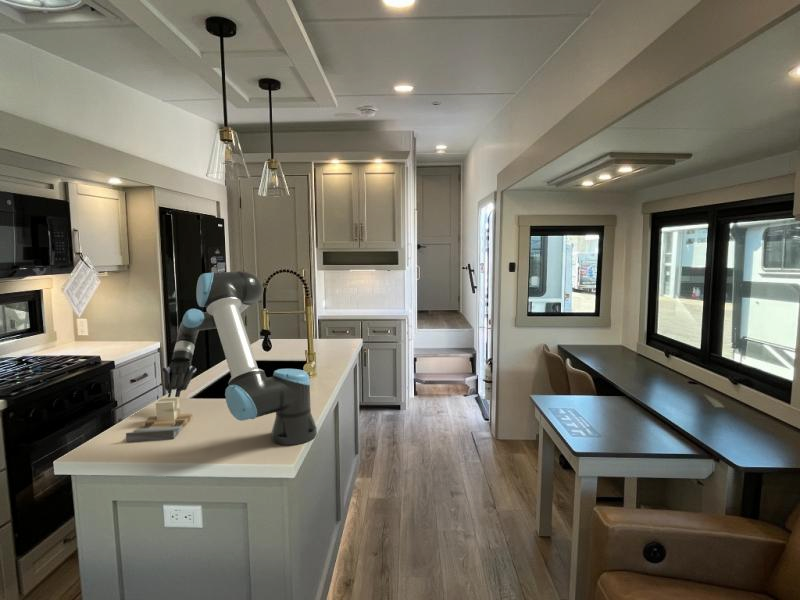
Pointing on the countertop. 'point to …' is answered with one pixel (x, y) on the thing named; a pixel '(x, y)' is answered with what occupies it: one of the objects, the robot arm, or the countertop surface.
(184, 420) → the trap board
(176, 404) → the ash block
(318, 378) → the countertop surface
